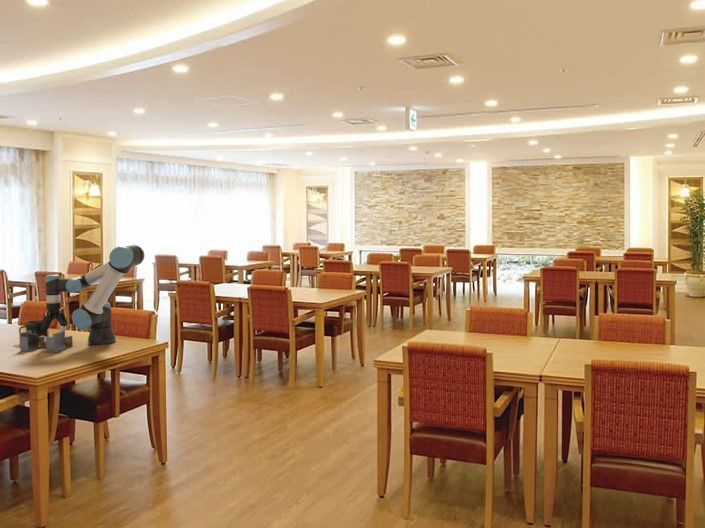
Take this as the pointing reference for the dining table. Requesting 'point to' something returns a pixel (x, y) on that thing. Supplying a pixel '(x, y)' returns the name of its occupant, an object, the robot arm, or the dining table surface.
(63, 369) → the dining table surface
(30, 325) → the mug
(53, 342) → the bracket
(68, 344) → the rail
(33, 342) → the bracket
